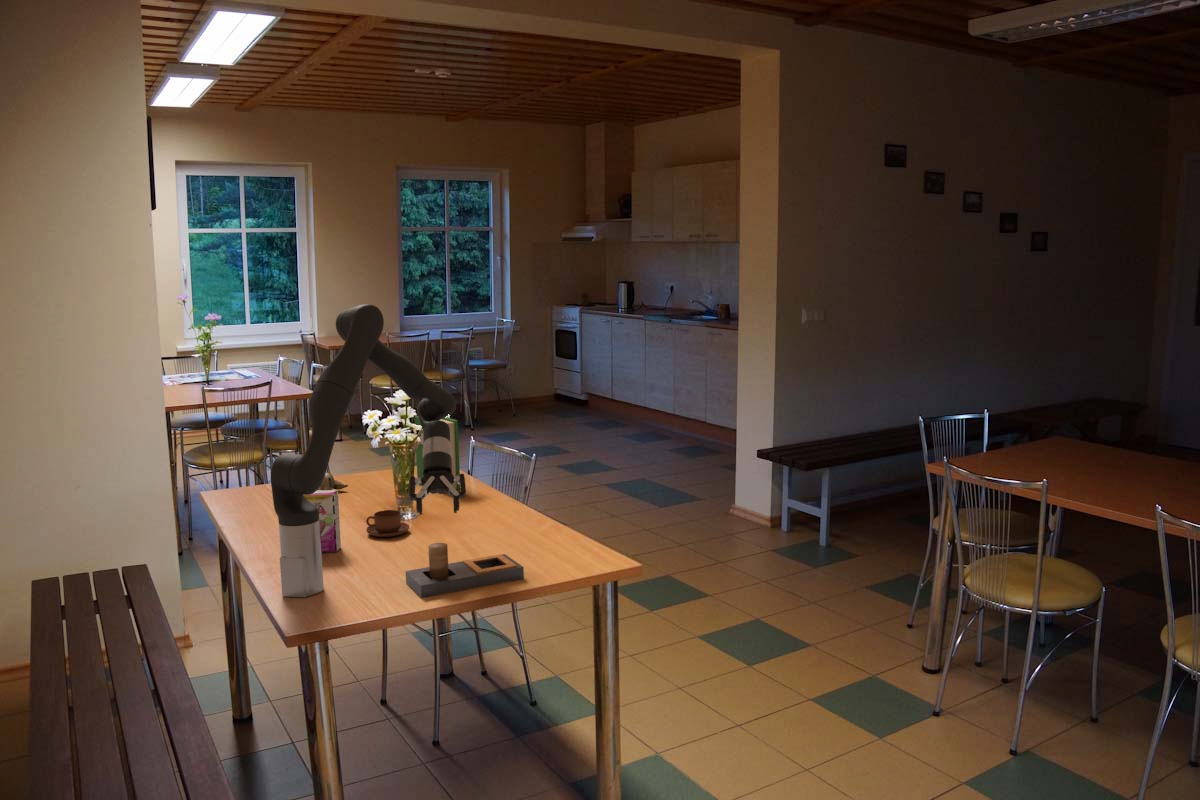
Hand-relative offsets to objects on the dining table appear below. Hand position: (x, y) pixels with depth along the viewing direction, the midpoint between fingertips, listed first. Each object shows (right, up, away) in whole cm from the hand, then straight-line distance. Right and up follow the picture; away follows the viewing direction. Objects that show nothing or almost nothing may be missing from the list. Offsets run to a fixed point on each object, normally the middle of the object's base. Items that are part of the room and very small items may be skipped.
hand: (438, 512), depth 243 cm
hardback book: (-15, -2, +90) cm, 91 cm away
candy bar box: (-36, -13, +20) cm, 43 cm away
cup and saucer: (-20, -11, +35) cm, 42 cm away
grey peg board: (+8, -16, -6) cm, 19 cm away
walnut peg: (+2, -17, -9) cm, 19 cm away
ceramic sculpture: (-53, -3, +85) cm, 101 cm away
